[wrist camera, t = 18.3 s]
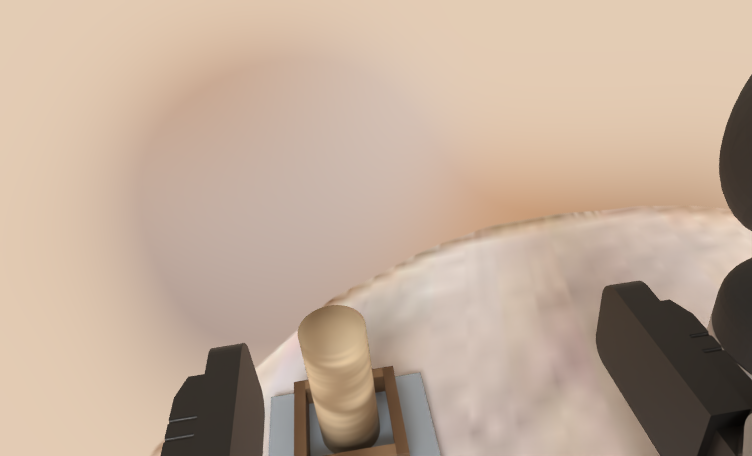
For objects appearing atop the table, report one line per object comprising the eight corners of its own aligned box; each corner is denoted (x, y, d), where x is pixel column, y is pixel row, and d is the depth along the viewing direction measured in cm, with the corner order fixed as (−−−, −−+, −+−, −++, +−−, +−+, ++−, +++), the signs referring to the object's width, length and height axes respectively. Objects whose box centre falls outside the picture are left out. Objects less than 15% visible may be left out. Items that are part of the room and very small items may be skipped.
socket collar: (394, 380, 52) (392, 365, 51) (411, 467, 44) (409, 452, 43) (298, 397, 51) (294, 382, 50) (298, 487, 44) (293, 472, 43)
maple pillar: (375, 401, 50) (361, 300, 43) (384, 450, 46) (369, 347, 39) (320, 411, 50) (296, 311, 43) (323, 461, 46) (298, 359, 39)
